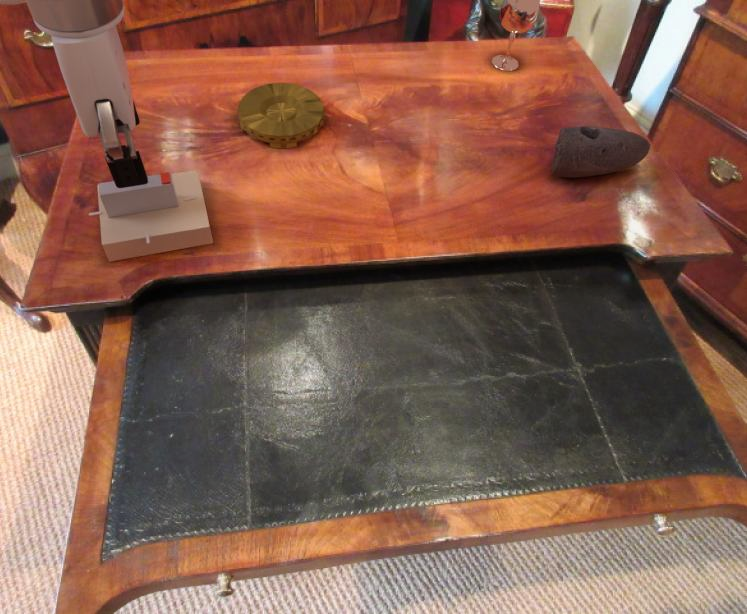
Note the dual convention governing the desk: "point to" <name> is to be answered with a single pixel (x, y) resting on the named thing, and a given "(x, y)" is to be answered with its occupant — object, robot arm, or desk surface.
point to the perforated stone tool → (596, 151)
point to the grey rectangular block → (139, 196)
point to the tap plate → (158, 224)
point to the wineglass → (515, 26)
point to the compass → (281, 114)
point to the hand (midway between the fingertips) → (129, 153)
